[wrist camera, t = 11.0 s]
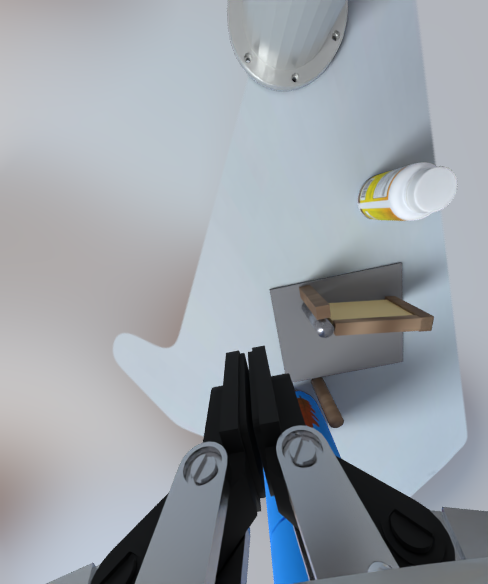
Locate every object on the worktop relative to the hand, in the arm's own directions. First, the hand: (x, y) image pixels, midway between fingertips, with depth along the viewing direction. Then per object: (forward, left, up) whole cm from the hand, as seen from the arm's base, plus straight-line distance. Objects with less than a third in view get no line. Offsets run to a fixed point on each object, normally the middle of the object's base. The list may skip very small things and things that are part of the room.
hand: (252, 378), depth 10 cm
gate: (+9, +14, -24) cm, 29 cm away
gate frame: (+13, +13, -25) cm, 31 cm away
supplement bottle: (-5, +19, -25) cm, 32 cm away
